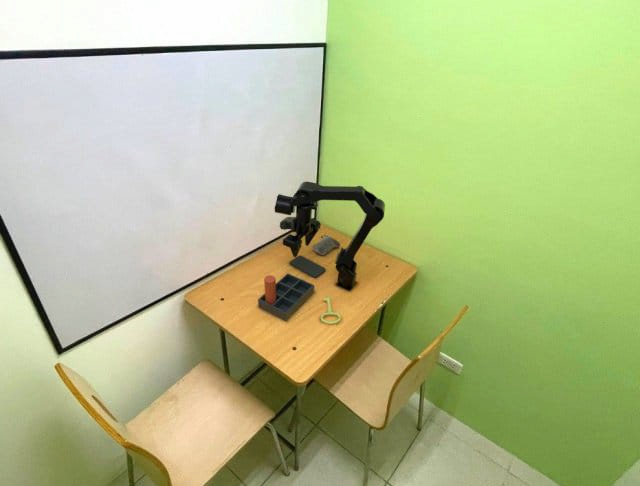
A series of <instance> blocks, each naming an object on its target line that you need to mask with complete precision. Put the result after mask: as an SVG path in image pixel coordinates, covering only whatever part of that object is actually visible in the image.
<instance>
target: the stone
mask: <svg viewBox="0 0 640 486" xmlns="http://www.w3.org/2000/svg"><path fill="white" fill-rule="evenodd" d="M340 246H341V242H339V241H338V240H336V239H335V238H333V237H331V236H329V235H327V234H323V235H322V239H321V240H319V241H318V242H316V243H315V244H313V245H312V250H313V251H314V252H315V253H316V254H318V255H320V256H326V255H327V254H328V253H329V252H330V251H332V250H333V249H336V248H340Z"/></svg>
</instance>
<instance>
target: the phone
mask: <svg viewBox="0 0 640 486" xmlns="http://www.w3.org/2000/svg"><path fill="white" fill-rule="evenodd" d="M289 265H290V266H291V267H294V268H295V269H297V270H300V271H301V272H303V273H305V274H307V275H309V276H310V277H312V278H315V279H316V278H319V276H321V275H322V274H324V273H325V272H326V268H325V267H323V266H321V265H320V264H318V263H316V262H314V261H312V260H310V259H308V258H307V257H304V256H303V255H297V257H294V258H293V259H292V260H290V261H289Z"/></svg>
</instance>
